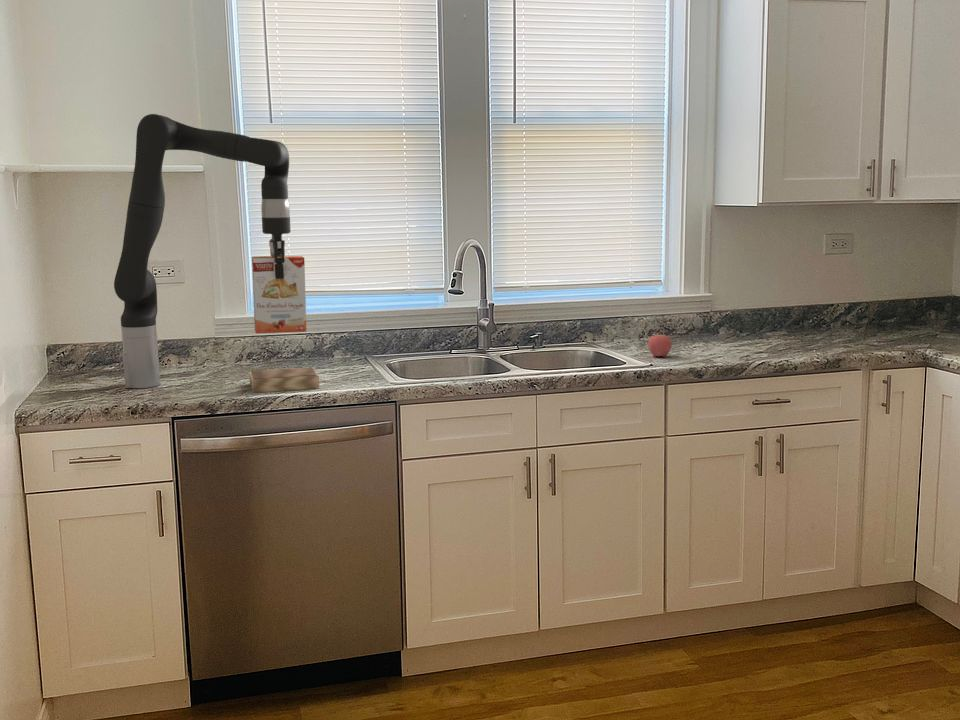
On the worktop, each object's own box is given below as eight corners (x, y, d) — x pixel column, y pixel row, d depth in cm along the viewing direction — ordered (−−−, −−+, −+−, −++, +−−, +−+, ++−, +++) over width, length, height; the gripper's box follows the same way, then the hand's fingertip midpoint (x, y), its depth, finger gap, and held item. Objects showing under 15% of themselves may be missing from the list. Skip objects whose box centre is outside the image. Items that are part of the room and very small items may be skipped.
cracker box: (255, 334, 252) (251, 257, 248) (254, 331, 258) (250, 256, 254) (307, 332, 256) (304, 256, 252) (305, 329, 261) (302, 254, 258)
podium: (252, 392, 251) (252, 379, 250) (250, 383, 263) (249, 370, 262) (319, 388, 256) (318, 374, 255) (313, 379, 268) (313, 366, 267)
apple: (647, 358, 296) (647, 333, 295) (648, 354, 303) (649, 330, 302) (670, 359, 294) (671, 334, 293) (671, 355, 301) (672, 331, 300)
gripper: (292, 216, 245) (295, 279, 248) (287, 215, 259) (289, 275, 262) (263, 216, 243) (266, 280, 246) (259, 215, 257) (262, 276, 260)
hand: (278, 277), depth 254 cm, fingers closed on cracker box, 6 cm apart
